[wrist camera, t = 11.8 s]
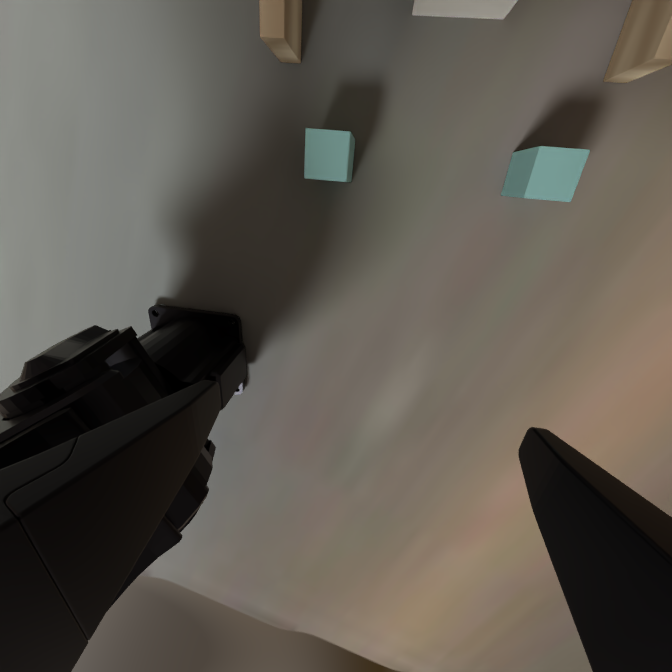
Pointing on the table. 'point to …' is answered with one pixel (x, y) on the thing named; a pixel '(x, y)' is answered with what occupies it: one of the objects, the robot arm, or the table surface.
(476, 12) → the block
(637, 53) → the open wooden frame
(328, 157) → the teal block pair
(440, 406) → the table surface
